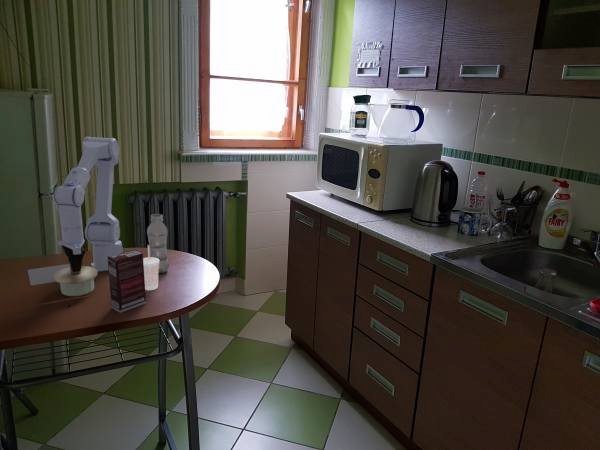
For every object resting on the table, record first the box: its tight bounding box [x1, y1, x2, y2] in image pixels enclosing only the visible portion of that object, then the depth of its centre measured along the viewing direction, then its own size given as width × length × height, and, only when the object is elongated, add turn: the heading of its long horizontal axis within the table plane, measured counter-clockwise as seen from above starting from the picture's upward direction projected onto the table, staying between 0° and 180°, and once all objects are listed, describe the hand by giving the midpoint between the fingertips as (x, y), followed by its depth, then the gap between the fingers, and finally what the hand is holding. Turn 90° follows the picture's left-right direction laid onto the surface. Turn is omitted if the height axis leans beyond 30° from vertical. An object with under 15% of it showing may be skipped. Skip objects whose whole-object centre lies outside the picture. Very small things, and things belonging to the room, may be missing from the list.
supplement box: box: [107, 249, 147, 314], centre depth 133 cm, size 9×5×16 cm, turn 141°
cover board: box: [53, 265, 98, 284], centre depth 141 cm, size 12×12×4 cm
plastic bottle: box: [146, 213, 170, 274], centre depth 157 cm, size 6×7×20 cm
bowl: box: [59, 278, 95, 298], centre depth 143 cm, size 9×9×4 cm
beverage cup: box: [143, 244, 160, 291], centre depth 146 cm, size 6×6×14 cm
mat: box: [27, 263, 70, 287], centre depth 153 cm, size 14×14×1 cm
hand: (75, 269), depth 141 cm, fingers closed on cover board, 3 cm apart
